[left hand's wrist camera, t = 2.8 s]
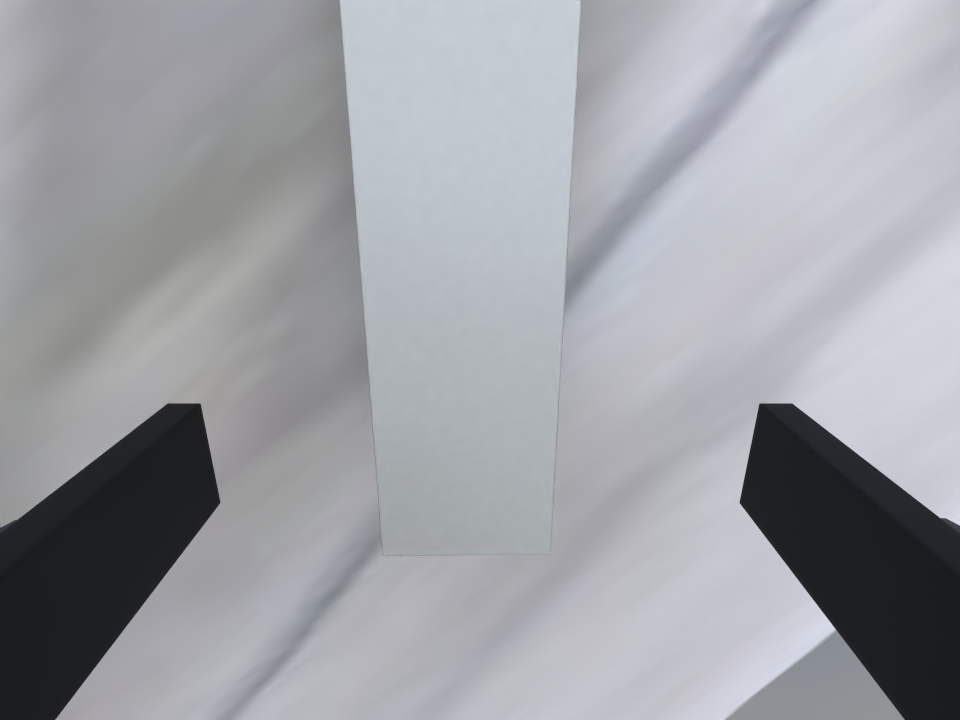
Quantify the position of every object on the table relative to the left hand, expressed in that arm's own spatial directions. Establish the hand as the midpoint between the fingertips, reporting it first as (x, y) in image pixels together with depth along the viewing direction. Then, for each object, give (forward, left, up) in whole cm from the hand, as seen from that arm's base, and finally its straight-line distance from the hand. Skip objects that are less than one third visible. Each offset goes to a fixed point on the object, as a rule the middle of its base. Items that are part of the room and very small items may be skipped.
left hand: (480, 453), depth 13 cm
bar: (-5, +7, -11) cm, 14 cm away
